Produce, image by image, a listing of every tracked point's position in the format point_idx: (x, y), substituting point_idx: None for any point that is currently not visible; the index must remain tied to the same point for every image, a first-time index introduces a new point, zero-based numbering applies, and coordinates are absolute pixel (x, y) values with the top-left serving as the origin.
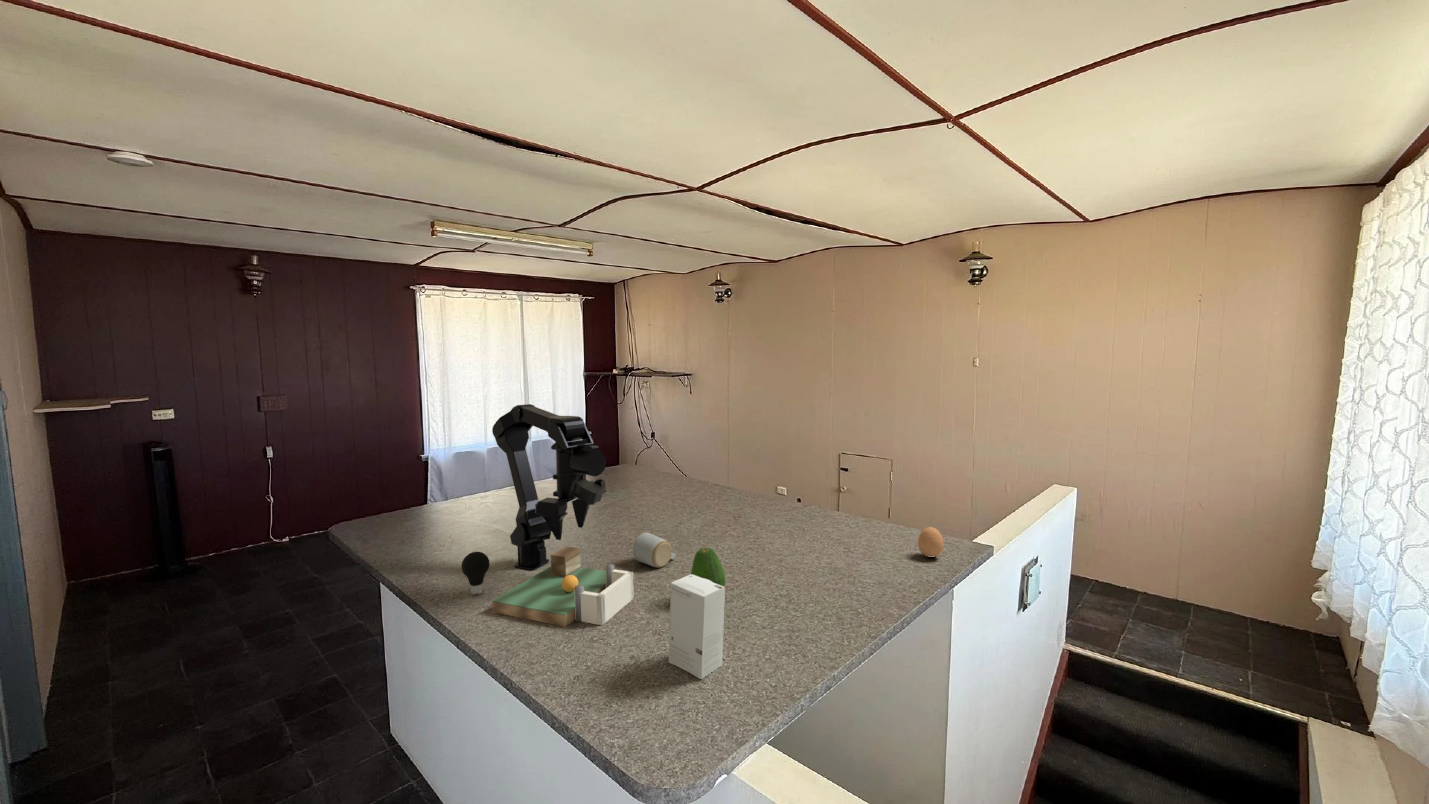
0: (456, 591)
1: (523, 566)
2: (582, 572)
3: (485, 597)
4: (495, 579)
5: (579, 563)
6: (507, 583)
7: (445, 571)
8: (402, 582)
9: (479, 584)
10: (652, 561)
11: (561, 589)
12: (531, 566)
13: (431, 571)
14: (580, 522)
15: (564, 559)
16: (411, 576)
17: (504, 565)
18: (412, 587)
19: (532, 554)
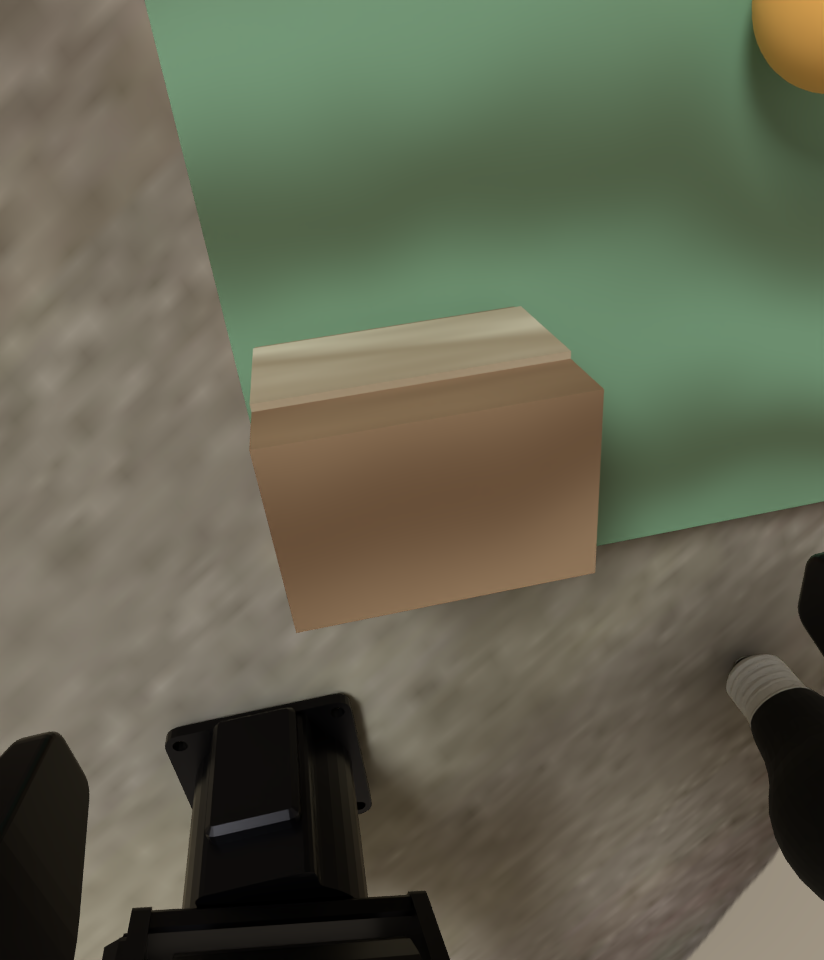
0: (724, 753)
1: (355, 763)
2: (333, 239)
3: (760, 607)
4: (545, 740)
5: (277, 357)
6: (567, 659)
7: (550, 931)
8: (694, 933)
9: (804, 689)
10: None
11: (767, 127)
12: (330, 733)
13: (571, 956)
14: (33, 864)
15: (590, 381)
16: (636, 957)
17: (370, 843)
18: (726, 883)
19: (326, 809)
